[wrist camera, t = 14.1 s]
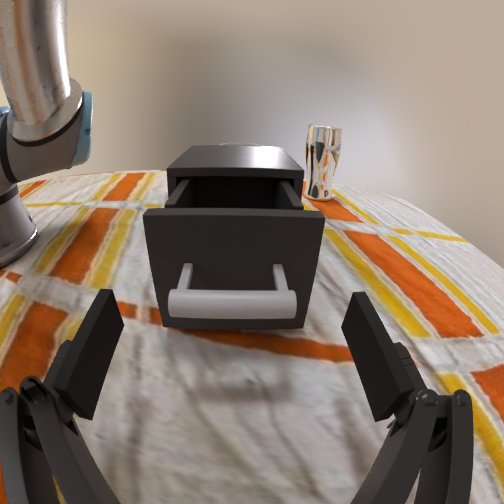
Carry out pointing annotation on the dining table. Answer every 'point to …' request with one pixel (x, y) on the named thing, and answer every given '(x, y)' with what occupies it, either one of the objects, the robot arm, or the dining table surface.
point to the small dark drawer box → (235, 164)
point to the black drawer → (233, 254)
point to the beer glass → (321, 161)
